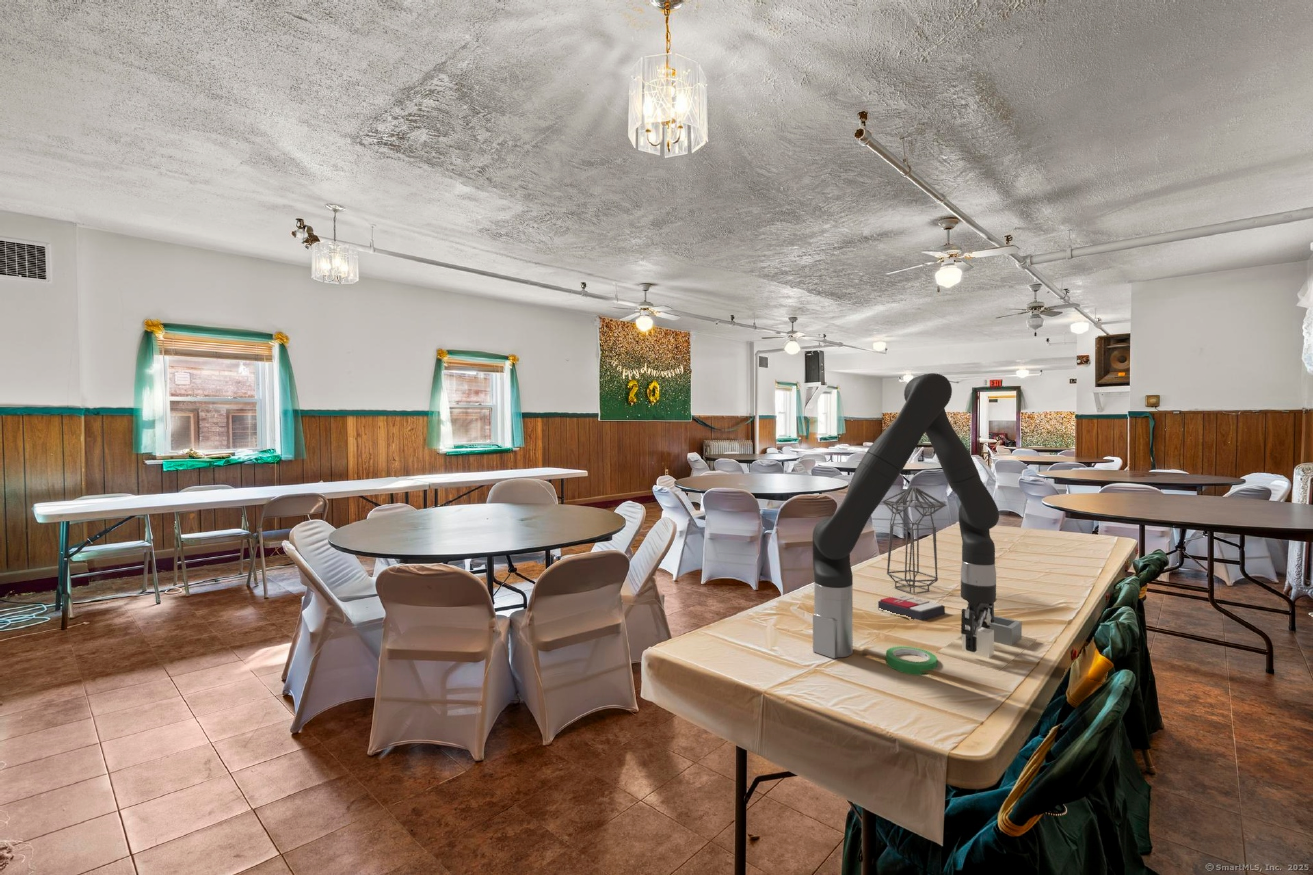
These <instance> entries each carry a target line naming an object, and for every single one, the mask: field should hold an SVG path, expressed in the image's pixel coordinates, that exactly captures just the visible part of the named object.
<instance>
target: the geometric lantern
mask: <svg viewBox="0 0 1313 875" xmlns="http://www.w3.org/2000/svg"><path fill="white" fill-rule="evenodd" d="M897 496H900V497H898V498H896V497H897ZM913 496H914V498H913ZM893 498H896V500H895V501H893V500H892V501H890V500H891V499H893ZM929 498H930V499H931V500H933V501H934V502H937V503H933V502H932V501H931V500H929ZM908 499H909V500H908ZM920 499H921V500H922V501H921V500H920ZM913 502H914V503H913ZM916 502H917V503H918V504H917V505H916ZM881 503H883V504H884V505H885V506H886V507H887V509H888V510H890V512H891V518H890V522H889V536H888V537H889V538H888V551H887V552H888V554H887V568H886V570H887V571H886V575H887V576H889V578H891V580H892V581H893V582H894V589H895V590H898V589H900V590H899V591H901V590H902V591H901V592H904V591H905V592H904V593H906V594H909V593H917V594H922V593H928V592H930V586H932V585H933V584H935V583H937V582H938V581H939V579H938V558H937V555H938V552H937V526H935V524H934V519H933V515H934V514H935V513H936V512H938V511H939V510H941V509H943V508H944V507H947V504H946V503H944V502H942V501H940V500H939V499H937V498H935V497H934V496H932V495H930V494H929V493H927V492H925V491H924V490H922V489H920V488H919V487H916V486H915V487H914V486H910V487H909V488H907V489H905V490H903V491H900V492H898V493H897V494H894V495H892V496H890V497H888V498H885V499H882V501H881ZM906 503H907V504H906ZM911 503H913V504H914V505H913V506H912V505H911ZM924 505H926V506H924ZM899 508H901V509H899ZM908 508H914V509H915V510H916V511H917V512H918V513H919V514H920V515H919V517H918V518H917V519H916V520H915V522H913V521H912V520H911V519H910V517H909V516H908V514H907V513H906V512H905V510H907V509H908ZM919 508H920V509H922V512H921V511H920V510H919ZM932 509H933V511H932ZM901 513H904V514H905V516H906V517H907V518H908V520H909V521H910V522H906V521H905V519H904V518H903V516H902V514H901ZM927 513H928V514H927ZM896 515H899V517H900V519H901V521H902V522H897V523H895V520H896ZM928 516H929V517H930V520H931V525H928V524H923V523H921V522H922V520H924V518H925V517H928ZM910 524H911V527H909V526H908V525H910ZM900 525H904V526H900ZM915 525H916V528H914V526H915ZM920 526H923V528H919V527H920ZM894 527H897V528H901V529H905V530H906V533H905V553H904V554H905V556H904V557H905V558H904V570H896V571H895V570H894V571H890V567H891V566H890V565H891V556H892V555H891V554H892V545H893V537H894V536H893V534H894ZM926 527H927V528H926ZM909 530H911V531H910V532H911V534H910V547H909V549H910V550H909V561H908V544H909V543H908V541H909ZM919 530H932V540H933V541H932V542H933V556H934V558H933V559H934V572H935V575H931V574H928V573H925V572H921V571H920V568H919V567H920V565H919V564H920V559H919V558H920V556H919V555H920V554H919V553H920V552H919V551H920V542H919V541H920V540H919V539H920V536H919V534H920V531H919ZM914 531H916V560H915V532H914ZM915 561H916V563H915ZM908 562H909V563H908ZM915 564H916V565H915ZM908 565H909V566H908ZM911 566H912V569H911ZM915 568H916V569H915ZM896 573H897V574H899V573H904V578H901V577H899V576H897V575H894V574H896ZM911 573H912V576H913V577H911ZM907 574H909V578H907ZM918 574H920V575H923V576H927V577H929V578H931V579H916V578H917V577H918V576H917V575H918ZM932 578H933V579H932ZM896 579H898V580H896ZM902 582H906V584H905V583H902ZM927 582H929V583H927ZM916 583H919V584H923V585H916ZM897 584H899V585H897ZM902 587H908V588H909V591H907V590H904V589H901V588H902ZM924 587H927V588H924ZM915 588H919V589H923V591H916V590H915ZM912 589H913V591H912ZM915 591H916V592H915Z"/></svg>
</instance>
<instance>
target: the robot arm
mask: <svg viewBox="0 0 1313 875" xmlns="http://www.w3.org/2000/svg"><path fill="white" fill-rule="evenodd" d="M952 393H953V389H952V383H951V382H950V380H949V379H948V378H947V377H946V376H945V375H943V374H940V373H933V372H932V373H925V374H923V375H921V374H920V375H918V376H915V377H913V378H912V379H910V380H909V381H908V382H907V384H906V385H905V387H904V391H903V396H904V401H905V403H904V404H903V406H902V408H901V410H899V413H898V415H897V417H896V418H895V419H894V420H893V421H892V422H891V423H890V425H889V426H887V428H886V429H885V430H884V431H883V432H882V433H881V434H880V435H879V436H878V437H877V438H876V439H875V440H874V442H873V443H872V444H871V445H870V447H869V448H868V449H867V451H866V452H865V454H864V455H863V457H862V458H861V460H860V461H859V463H858V465H857V467H856V468H855V471H854V473H853V475H852V477H851V480H850V483H849V486H848V489H847V492H846V493H845V494H846V495H845V497H844V498H843V501H842V502H841V504H840V505H839V506H838V508H837V510H836V511H835V512H834V514H833V515H832V516H831V517H825V518H823V519H821V520H819V521H817V523H816V524H815V525H814V527H813V531H812V569H813V570H812V571H813V577H814V578H813V579H814V580H813V581H814V582H813V584H814V595H813V597H814V598H813V600H814V601H813V602H814V603H813V605H814V607H813V609H814V613H813V614H812V652H813V653H817V654H820V655H823V656H826V657H829V658H831V659H837V658H846V657H849V656H851V655H853V653H854V652H853V651H854V650H853V647H854V646H853V644H854V640H853V639H854V637H853V635H854V634H853V633H854V632H853V630H854V628H853V627H854V624H853V622H854V621H853V617H854V616H853V615H854V614H853V605H854V604H853V602H854V600H853V588H854V587H853V584H854V582H853V578H854V577H853V570H852V567H851V566H852V565H851V552H852V551H853V550H854V549H855V546H856V545H857V542H859V541H858V540H859V539H860V537H861V534H862V532H863V530H864V528H865V527H866V525H867V523H868V521H869V519H870V517H871V516H872V514H873V513H874V511H875V510H876V509H877V508H878V507H879V505H880V504H881V503H882V501H883V500H884V498H885V497H886V495H887V494H888V492H889V491H890V489H891V488H892V486H893V485H894V484H895V483H896V481H897V479H898V477H899V476H900V474H901V472H902V471H904V470H903V469H904V468H905V466H906V464H907V463H908V462H909V460H910V458H911V457H912V454H913V453H914V451H915V450H916V448H917V446H918V444H919V442H920V441H921V439H922V437H923V436H924V434H925V435H926V437H927V438H928V440H929V443H930V445H931V447H932V449H933V452H935V453H934V454H935V455H936V458H937V460H938V463H939V464H940V467H941V469H942V471H943V472H942V473H943V474H944V476H945V478H946V480H947V481H946V482H947V483H948V485H949V488H951V490H952V491H953V493H954V494H956V496H957V498H958V499H959V501H960V504H959V509H958V524H959V525H958V526H959V530H960V536H961V541H962V543H961V544H962V546H961V566H960V597H961V599H962V600H964V601H967V607H966V609H965V608H961V619H960V620H961V622H960V624H961V625H960V633H961V635H962V634H965V635H966V650H967V651H971V652H976V651H977V637H976V636H977V632H978V629H980V628H981V627H983V628H987V629H990V628H989V627H991V625H992V624H991V623H994V615H995V605H994V604H995V602H996V601H997V569H996V546H995V542H994V540H993V539H992V537H991V535H990V534H991V533H990V530H991V529H993V528H994V527H995V526H997V524H999V520H1000V512H999V508H998V506H997V503H996V502H995V500H994V498H993V496H992V495H991V493H990V492H989V490H988V488H987V487H986V485H985V484H984V482H983V481H982V478H981V475H980V473H979V470H978V468H977V467H976V463H975V462H974V460H973V457H972V455H971V454H970V452H969V450H968V448H967V447H966V445H965V444H964V442H963V441H962V439H961V438H960V436H959V435H958V434H957V432H956V431H955V429H954V427H953V426H952V424H951V422H950V420H949V418H948V415H947V412H946V410H945V408H946V406H948V404H949V403H950V400H951V398H952ZM965 625H966V626H965ZM969 627H970V630H969Z"/></svg>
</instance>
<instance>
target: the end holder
mask: <svg viewBox="0 0 1313 875" xmlns="http://www.w3.org/2000/svg"><path fill="white" fill-rule="evenodd" d="M1022 623H1023V622H1022V621H1021V620H1016V619H1012V618H1009V617H1008V618H1007V617H1002V616H999V615H995V614H994V623H991V624H992V625H991V627H989V628H990V629H991V630H994V642H996V643H1000V644H1004V645H1008V646H1013V645H1014V644H1015V643H1017V642H1018V641H1019V640H1021V639H1022V636H1023V635H1022V634H1023V632H1022V629H1023V627H1022V626H1023V625H1022Z"/></svg>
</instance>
